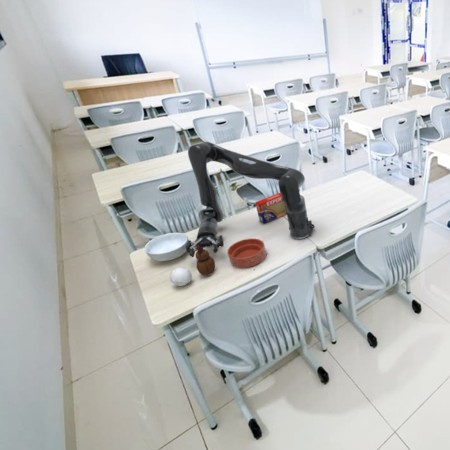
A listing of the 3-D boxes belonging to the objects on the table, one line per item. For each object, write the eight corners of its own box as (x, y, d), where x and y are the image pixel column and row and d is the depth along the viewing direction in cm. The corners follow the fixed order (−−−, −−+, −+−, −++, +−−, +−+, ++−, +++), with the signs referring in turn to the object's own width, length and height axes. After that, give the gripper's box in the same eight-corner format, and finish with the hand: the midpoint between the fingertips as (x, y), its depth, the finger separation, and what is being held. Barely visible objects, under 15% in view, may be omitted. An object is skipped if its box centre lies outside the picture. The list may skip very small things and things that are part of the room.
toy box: (263, 224, 182) (259, 204, 176) (259, 221, 184) (255, 202, 178) (293, 211, 193) (290, 192, 187) (289, 209, 195) (286, 190, 189)
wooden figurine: (209, 278, 146) (198, 249, 138) (197, 276, 147) (185, 247, 139) (219, 268, 151) (209, 239, 143) (208, 266, 152) (197, 238, 144)
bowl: (266, 245, 166) (263, 235, 163) (267, 264, 154) (264, 254, 151) (231, 251, 161) (228, 242, 158) (229, 272, 149) (226, 261, 146)
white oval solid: (189, 275, 147) (183, 261, 143) (197, 283, 143) (191, 269, 139) (163, 287, 141) (156, 273, 137) (171, 296, 137) (164, 281, 133)
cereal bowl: (182, 266, 152) (176, 253, 149) (142, 267, 152) (136, 254, 148) (198, 243, 167) (193, 231, 163) (162, 245, 166) (156, 232, 162)
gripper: (187, 229, 155) (181, 249, 142) (222, 223, 159) (219, 242, 146) (192, 242, 159) (187, 263, 146) (226, 237, 163) (224, 257, 150)
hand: (203, 253), depth 146 cm, fingers open, 8 cm apart
